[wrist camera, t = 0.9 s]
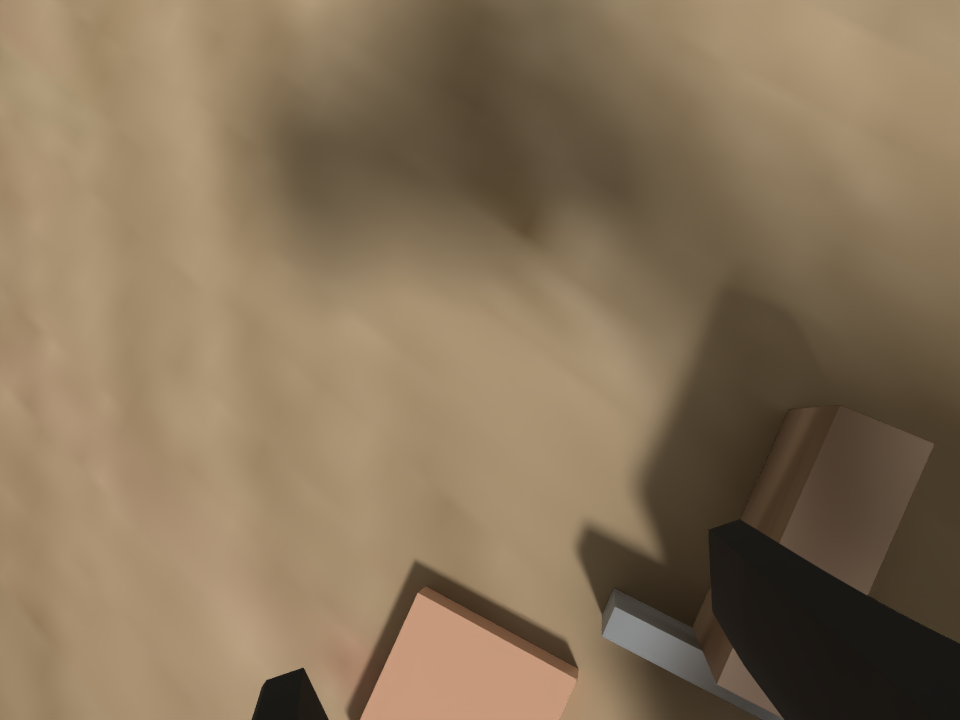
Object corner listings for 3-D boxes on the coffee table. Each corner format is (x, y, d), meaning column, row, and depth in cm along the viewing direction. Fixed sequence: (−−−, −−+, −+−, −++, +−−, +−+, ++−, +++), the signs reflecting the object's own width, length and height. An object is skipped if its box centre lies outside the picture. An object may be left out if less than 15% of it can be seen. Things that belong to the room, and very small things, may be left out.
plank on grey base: (949, 476, 21) (1052, 492, 16) (835, 734, 21) (905, 827, 16) (708, 375, 23) (736, 362, 18) (601, 614, 23) (601, 666, 18)
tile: (579, 663, 23) (577, 679, 22) (508, 821, 23) (501, 848, 22) (429, 582, 25) (417, 592, 23) (361, 732, 24) (345, 751, 23)
